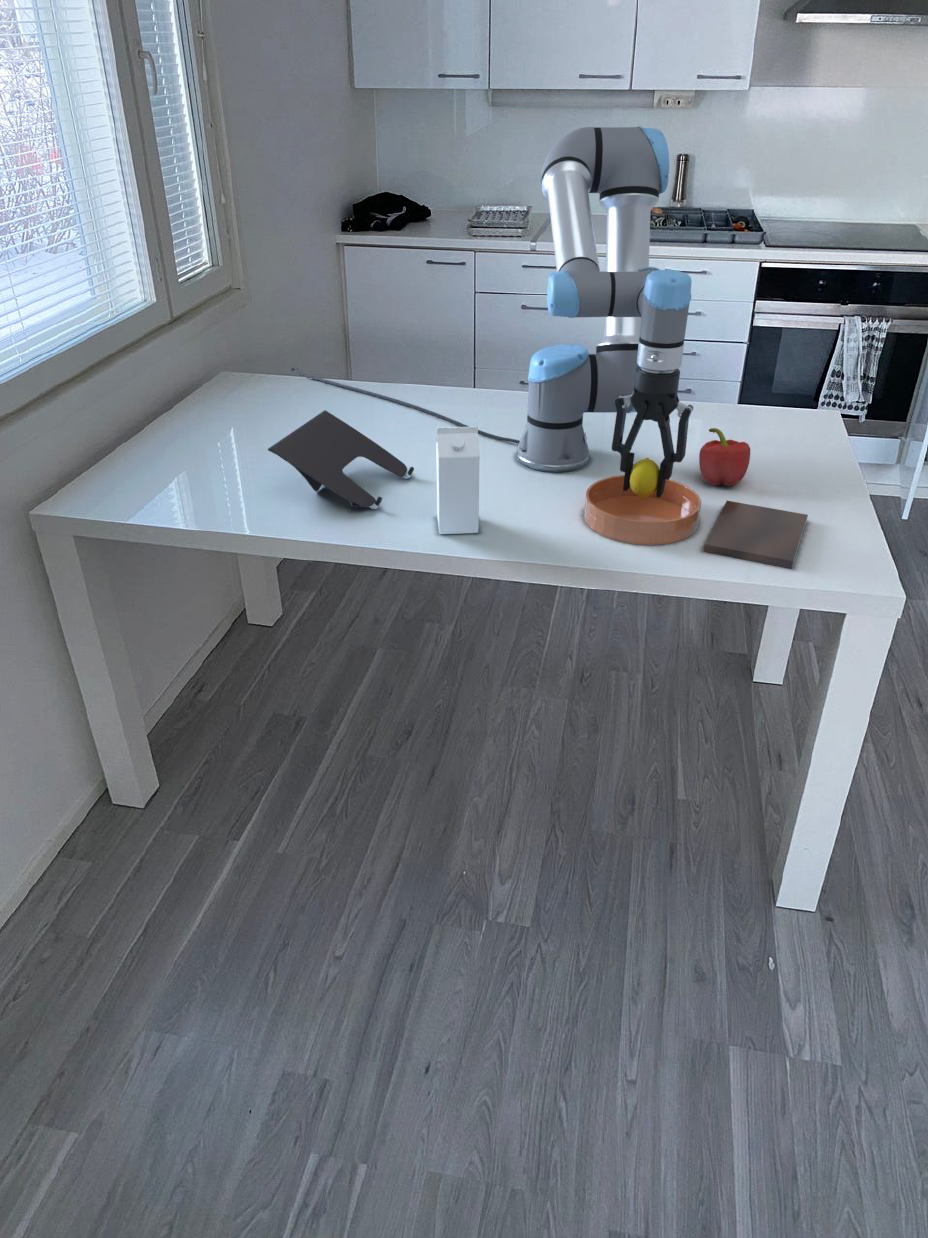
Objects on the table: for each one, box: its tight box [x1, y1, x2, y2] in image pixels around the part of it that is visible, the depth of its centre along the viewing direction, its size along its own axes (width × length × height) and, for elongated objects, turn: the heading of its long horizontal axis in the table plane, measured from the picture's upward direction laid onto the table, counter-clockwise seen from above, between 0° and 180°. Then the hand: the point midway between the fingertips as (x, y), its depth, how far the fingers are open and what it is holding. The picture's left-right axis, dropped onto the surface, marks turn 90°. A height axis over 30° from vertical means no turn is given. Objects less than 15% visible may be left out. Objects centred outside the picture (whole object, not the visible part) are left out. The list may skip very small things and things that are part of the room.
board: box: [703, 500, 809, 570], centre depth 169 cm, size 15×20×2 cm
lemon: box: [630, 457, 660, 499], centre depth 171 cm, size 6×6×8 cm
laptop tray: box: [267, 409, 415, 510], centre depth 186 cm, size 23×23×9 cm
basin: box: [583, 474, 702, 546], centre depth 174 cm, size 21×21×4 cm
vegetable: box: [698, 427, 751, 487], centre depth 188 cm, size 11×10×10 cm
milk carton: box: [435, 426, 480, 535], centre depth 168 cm, size 7×7×19 cm
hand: (643, 490), depth 173 cm, fingers closed on lemon, 6 cm apart
